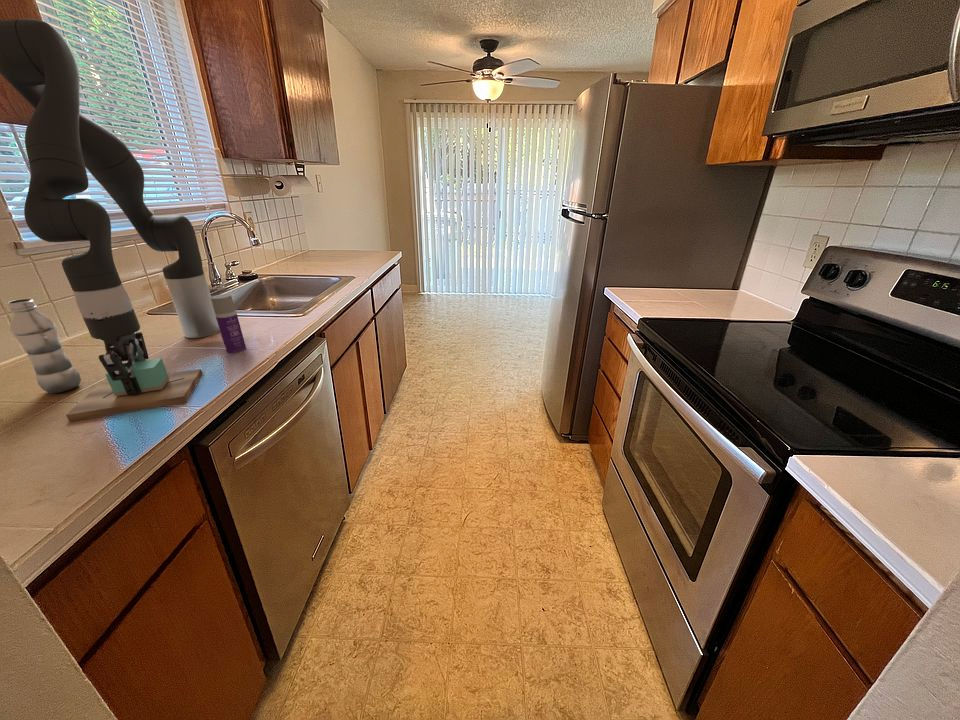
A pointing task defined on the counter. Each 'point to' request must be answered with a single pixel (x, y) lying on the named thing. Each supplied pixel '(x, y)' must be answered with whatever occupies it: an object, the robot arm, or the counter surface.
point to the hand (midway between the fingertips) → (140, 387)
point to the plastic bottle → (42, 347)
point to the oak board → (135, 397)
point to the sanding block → (144, 377)
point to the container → (228, 324)
